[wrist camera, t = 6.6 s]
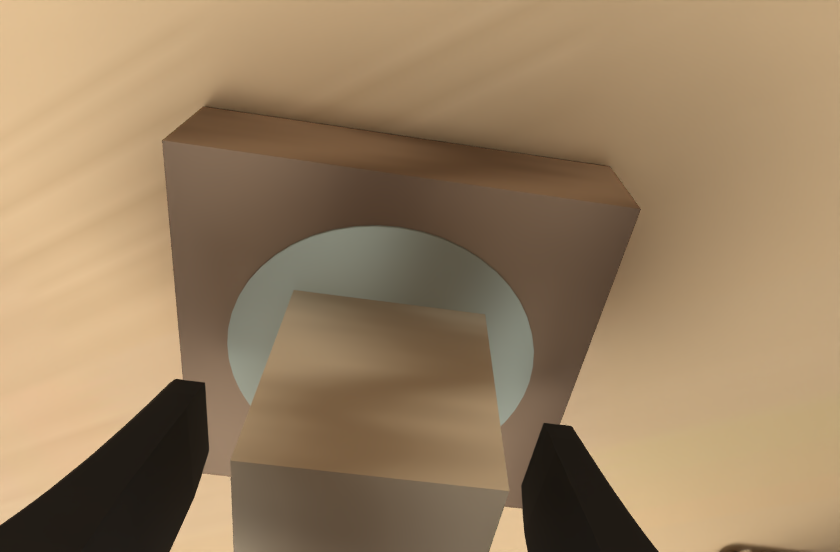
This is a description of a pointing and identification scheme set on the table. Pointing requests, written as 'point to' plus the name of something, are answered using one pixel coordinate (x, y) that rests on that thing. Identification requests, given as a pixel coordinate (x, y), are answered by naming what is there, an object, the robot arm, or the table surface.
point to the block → (371, 433)
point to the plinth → (386, 253)
